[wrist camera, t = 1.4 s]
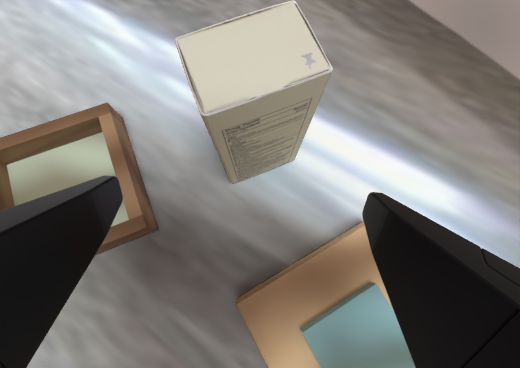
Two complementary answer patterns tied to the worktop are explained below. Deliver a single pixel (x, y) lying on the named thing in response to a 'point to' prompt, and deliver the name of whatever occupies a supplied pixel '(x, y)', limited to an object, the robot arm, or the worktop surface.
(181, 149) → the worktop surface
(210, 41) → the skincare box
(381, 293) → the shallow wooden box
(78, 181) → the tray
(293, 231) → the worktop surface
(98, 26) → the worktop surface
